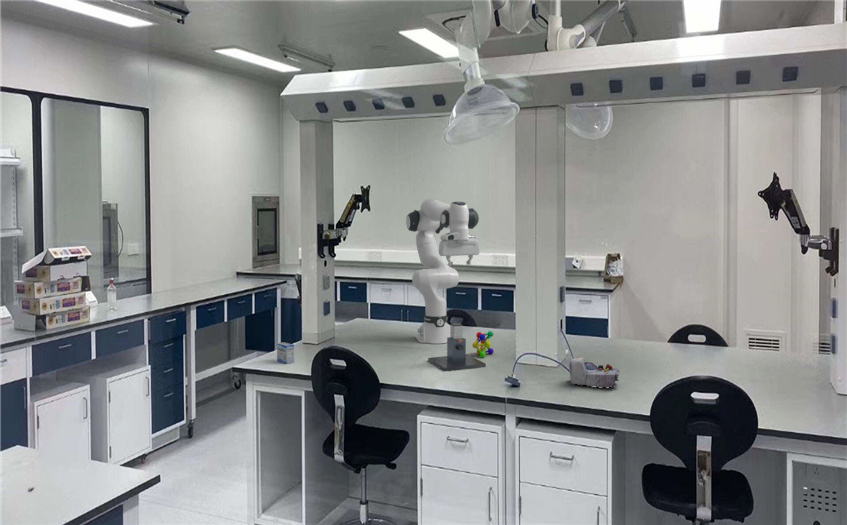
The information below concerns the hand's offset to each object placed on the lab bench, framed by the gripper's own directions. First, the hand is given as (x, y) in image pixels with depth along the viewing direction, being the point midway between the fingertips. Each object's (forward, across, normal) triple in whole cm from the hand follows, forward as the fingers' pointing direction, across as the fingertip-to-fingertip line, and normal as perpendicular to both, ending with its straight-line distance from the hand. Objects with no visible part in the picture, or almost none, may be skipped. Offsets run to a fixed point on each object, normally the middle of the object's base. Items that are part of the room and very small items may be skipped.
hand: (459, 265), depth 315 cm
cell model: (+46, -30, +64) cm, 84 cm away
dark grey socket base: (+44, +8, +12) cm, 47 cm away
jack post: (+42, +8, +12) cm, 45 cm away
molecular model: (+44, -12, +2) cm, 46 cm away
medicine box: (+44, +79, -23) cm, 93 cm away
